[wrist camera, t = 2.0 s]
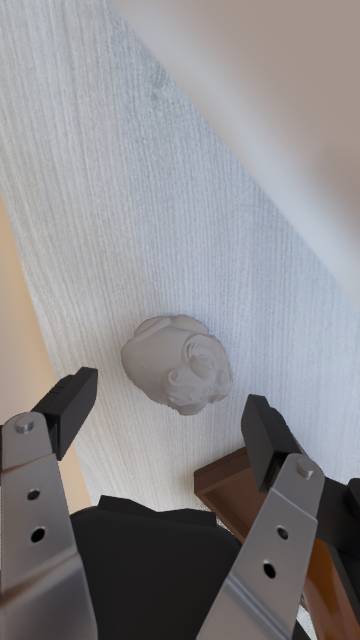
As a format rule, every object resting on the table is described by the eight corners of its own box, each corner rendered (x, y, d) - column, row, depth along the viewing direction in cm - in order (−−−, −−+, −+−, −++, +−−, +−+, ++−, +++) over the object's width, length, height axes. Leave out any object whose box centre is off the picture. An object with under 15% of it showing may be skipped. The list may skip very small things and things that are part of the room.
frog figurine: (209, 379, 20) (219, 447, 14) (128, 361, 20) (98, 421, 13) (231, 313, 18) (254, 355, 12) (141, 291, 18) (114, 322, 11)
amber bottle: (295, 523, 25) (386, 767, 13) (342, 530, 25) (473, 780, 13) (281, 553, 26) (351, 794, 15) (325, 560, 26) (429, 804, 15)
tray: (193, 472, 24) (194, 493, 22) (286, 425, 21) (296, 445, 19) (316, 605, 30) (325, 631, 28) (397, 580, 28) (413, 606, 26)
